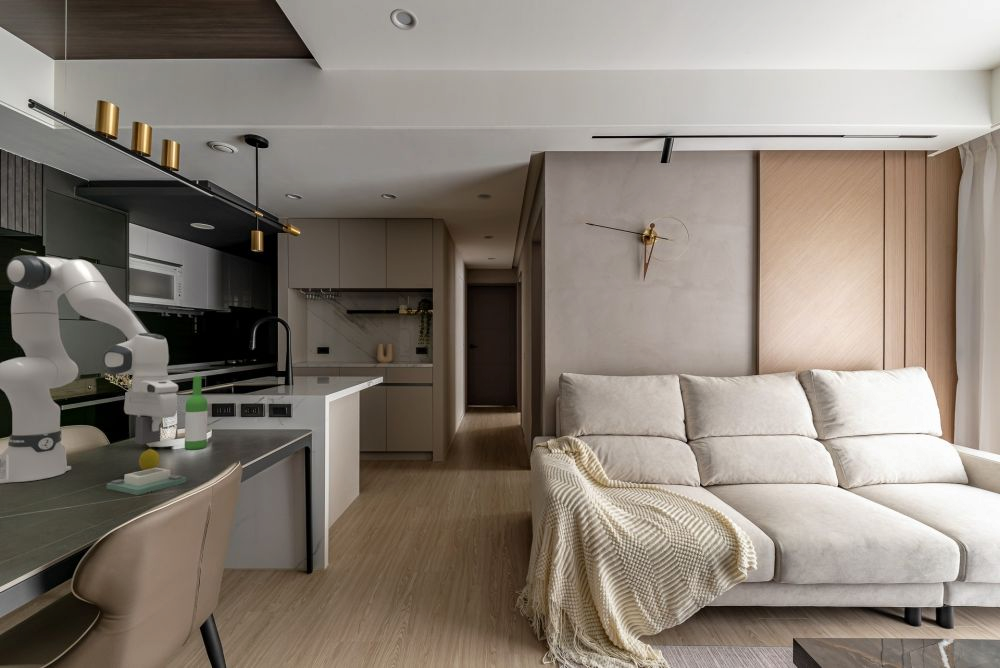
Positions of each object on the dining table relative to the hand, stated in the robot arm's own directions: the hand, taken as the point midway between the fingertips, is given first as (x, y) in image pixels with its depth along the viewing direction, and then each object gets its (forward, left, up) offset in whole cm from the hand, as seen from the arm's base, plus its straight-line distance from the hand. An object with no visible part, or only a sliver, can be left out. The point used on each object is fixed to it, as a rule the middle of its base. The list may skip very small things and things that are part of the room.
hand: (149, 430), depth 145 cm
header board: (0, 0, -17) cm, 17 cm away
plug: (0, 0, -4) cm, 4 cm away
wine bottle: (-37, +40, -17) cm, 57 cm away
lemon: (-15, +9, -17) cm, 24 cm away
